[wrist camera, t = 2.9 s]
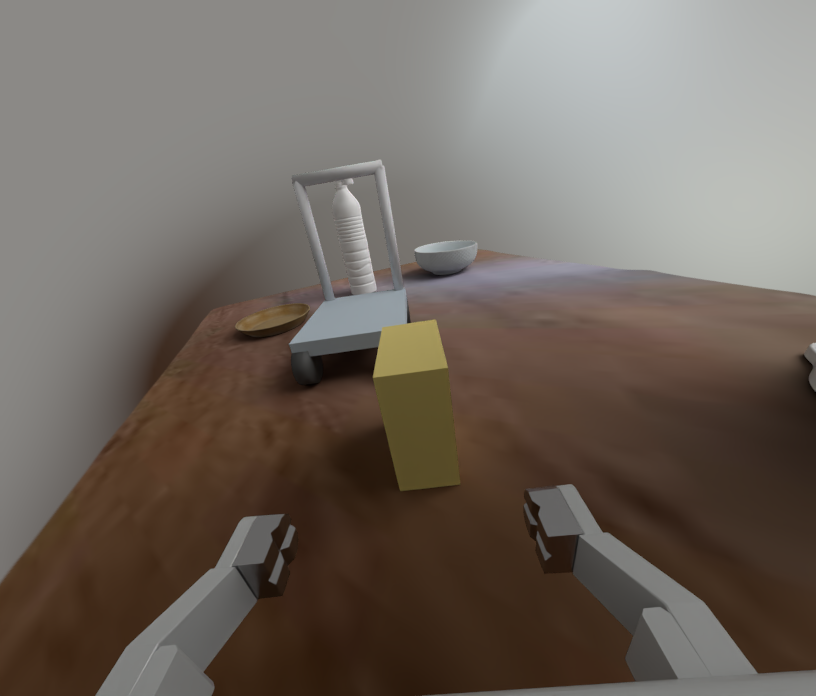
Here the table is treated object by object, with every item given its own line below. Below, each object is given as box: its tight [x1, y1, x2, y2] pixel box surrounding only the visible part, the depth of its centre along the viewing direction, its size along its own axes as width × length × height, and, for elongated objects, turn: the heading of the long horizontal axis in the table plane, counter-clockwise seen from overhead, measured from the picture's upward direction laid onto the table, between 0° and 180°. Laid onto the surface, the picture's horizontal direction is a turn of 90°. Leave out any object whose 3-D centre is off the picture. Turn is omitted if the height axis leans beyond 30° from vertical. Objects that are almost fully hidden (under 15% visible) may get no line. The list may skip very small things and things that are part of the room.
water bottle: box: [332, 179, 377, 295], centre depth 70 cm, size 9×6×25 cm
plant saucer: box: [235, 303, 310, 337], centre depth 62 cm, size 15×15×3 cm
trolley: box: [289, 160, 410, 385], centre depth 40 cm, size 14×21×25 cm, turn 1°
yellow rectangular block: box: [373, 320, 460, 491], centre depth 23 cm, size 4×8×10 cm, turn 0°
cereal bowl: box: [415, 240, 477, 275], centre depth 82 cm, size 17×17×7 cm
